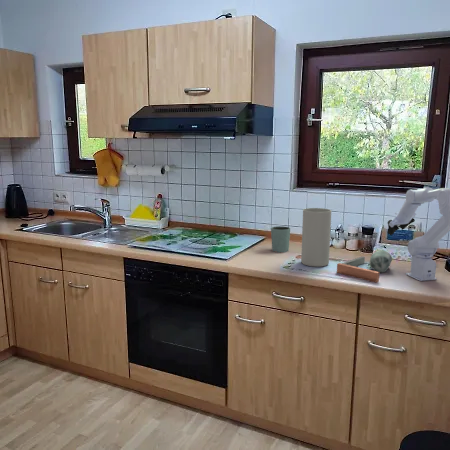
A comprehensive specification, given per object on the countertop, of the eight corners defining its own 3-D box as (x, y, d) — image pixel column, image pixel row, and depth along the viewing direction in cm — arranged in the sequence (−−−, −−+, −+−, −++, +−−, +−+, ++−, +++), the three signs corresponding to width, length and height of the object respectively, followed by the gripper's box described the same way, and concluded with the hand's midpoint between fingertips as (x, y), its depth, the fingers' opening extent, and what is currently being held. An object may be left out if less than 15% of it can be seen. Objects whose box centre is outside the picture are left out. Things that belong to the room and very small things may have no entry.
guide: (361, 262, 195) (362, 254, 194) (401, 271, 181) (402, 262, 181) (334, 272, 180) (335, 263, 179) (376, 282, 166) (377, 273, 166)
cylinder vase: (331, 261, 196) (334, 209, 192) (325, 268, 185) (328, 212, 181) (305, 258, 202) (307, 207, 197) (297, 265, 191) (299, 210, 186)
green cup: (280, 253, 211) (281, 230, 209) (266, 250, 219) (266, 227, 216) (293, 250, 217) (294, 228, 215) (279, 247, 225) (280, 225, 223)
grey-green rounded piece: (393, 268, 174) (384, 246, 177) (371, 275, 179) (362, 253, 181) (398, 268, 186) (389, 247, 189) (377, 275, 190) (369, 254, 193)
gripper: (412, 199, 188) (400, 219, 198) (388, 210, 182) (378, 230, 193) (424, 210, 184) (411, 230, 194) (400, 221, 179) (388, 241, 189)
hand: (395, 230), depth 193 cm, fingers open, 7 cm apart
